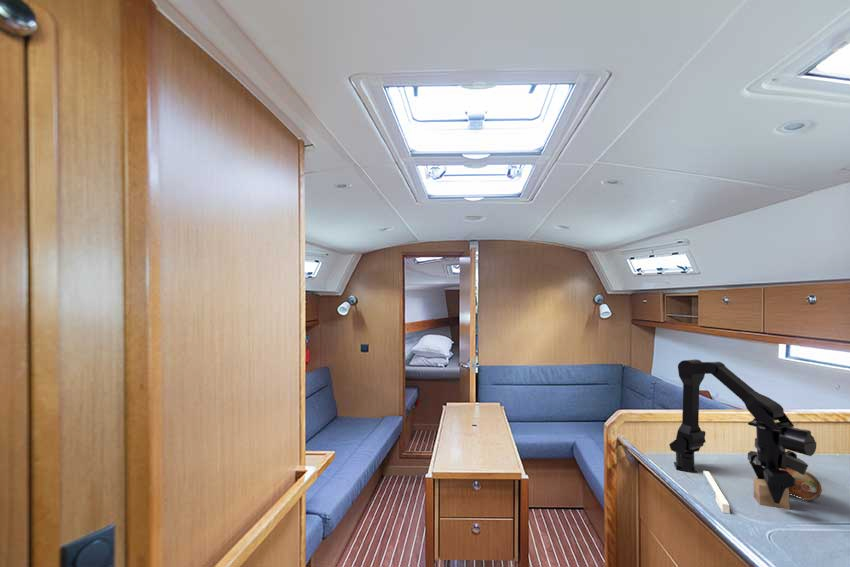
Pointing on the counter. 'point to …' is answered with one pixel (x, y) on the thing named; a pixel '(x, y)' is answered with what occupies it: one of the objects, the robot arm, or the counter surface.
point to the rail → (716, 492)
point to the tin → (804, 485)
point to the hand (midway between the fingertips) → (770, 496)
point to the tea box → (769, 495)
